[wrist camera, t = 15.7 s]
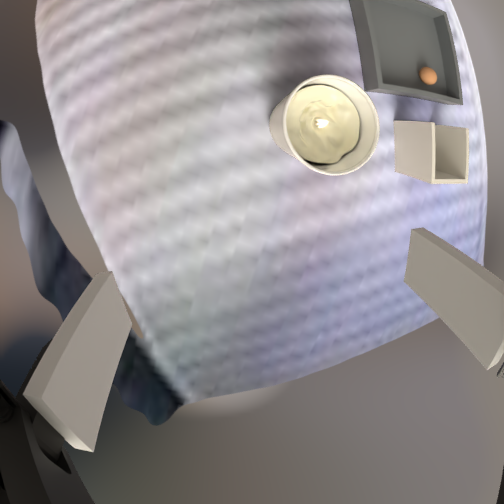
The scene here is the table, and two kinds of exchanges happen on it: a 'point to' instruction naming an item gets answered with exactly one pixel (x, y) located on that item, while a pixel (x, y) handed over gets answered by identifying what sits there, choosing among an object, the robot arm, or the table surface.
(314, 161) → the candle holder
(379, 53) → the tray
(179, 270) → the table surface
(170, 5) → the table surface
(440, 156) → the cream open-top bin
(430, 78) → the ball
